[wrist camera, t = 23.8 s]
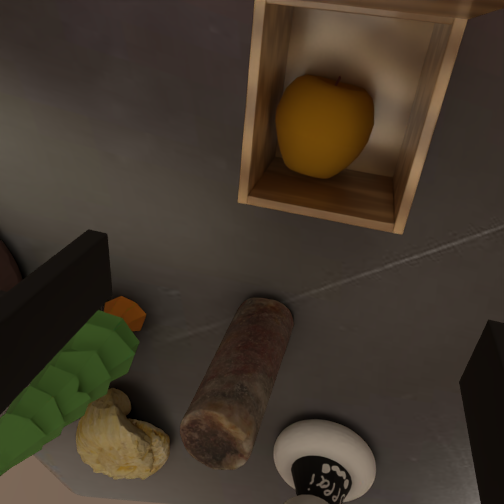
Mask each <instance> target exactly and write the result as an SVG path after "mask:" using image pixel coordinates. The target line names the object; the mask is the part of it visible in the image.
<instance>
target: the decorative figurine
mask: <svg viewBox="0 0 504 504" xmlns="http://www.w3.org/2000/svg"><path fill="white" fill-rule="evenodd" d="M274 461H275V465H276V468H277V470H278V472H279V474H280V475H281V476H282V478H283V479H284V480H285V481H286V482H287V483H288V484H289V485H290V486H291V487H292V488H294V489H295V490H296V494H297V496H295V497H292V498H290V499H289V500H287V501H286V502H285V503H283V504H342V502H346V501H351V500H354V499H356V498H358V497H360V496H362V495H363V494H365V493H366V492H367V491H368V490H369V488H370V487H371V486H372V484H373V482H374V479H375V475H376V463H375V459H374V456H373V454H372V451H371V449H370V448H369V446H368V445H367V443H366V442H365V441H364V440H363V439H362V438H361V437H360V436H359V435H357V434H356V433H355V432H354V431H352V430H350V429H349V428H347V427H345V426H343V425H340V424H338V423H335V422H331V421H328V420H321V419H308V420H302V421H298V422H296V423H293V424H291V425H289V426H288V427H286V428H285V429H284V430H283V431H282V432H281V433H280V435H279V436H278V438H277V440H276V442H275V446H274Z"/></svg>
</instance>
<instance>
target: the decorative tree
mask: <svg viewBox="0 0 504 504" xmlns="http://www.w3.org/2000/svg"><path fill="white" fill-rule="evenodd" d="M145 317H146V313H145V312H144V311H143V310H142V309H141V308H140V307H139V306H138V304H137V303H136V302H133V301H131V300H129V299H127V298H125V297H123V296H120V297H117V298H115V299H113V300H111V301H108V302H106V303H105V307H104V312H102V311H99V310H98V311H97V312H96V313H95V314H94V315H93V316H92V317H91V318H90V319H89V320H88V321H87V322H86V324H85V325H84V326H83V327H82V328H81V329H80V330H79V331H78V332H77V333H76V334H75V335H74V336H73V337H72V338H71V340H70V341H69V342H68V343H67V344H66V345H65V346H64V347H63V348H62V349H61V350H60V351H59V352H58V353H57V355H56V356H55V357H54V358H53V359H52V360H51V361H50V362H49V363H48V364H47V365H46V366H45V368H44V369H43V370H42V371H41V372H40V373H39V374H38V375H37V376H36V377H35V378H34V379H33V380H32V381H31V383H30V385H29V386H28V387H27V388H25V389H24V390H23V391H22V392H21V393H20V394H19V395H18V396H17V397H16V398H15V399H14V400H13V401H12V403H11V404H10V406H9V408H8V410H7V412H6V414H5V415H3V416H2V417H1V418H0V476H1V475H2V474H3V473H5V472H6V471H7V470H9V469H10V468H12V467H13V466H15V465H17V464H18V463H20V462H22V461H23V460H25V459H26V458H28V457H30V456H31V455H33V454H35V453H36V452H38V451H40V450H41V449H42V446H43V445H44V444H46V443H48V442H49V441H51V440H53V439H54V438H56V437H58V436H59V435H60V434H61V431H62V429H63V427H65V426H66V425H68V424H70V423H72V422H74V421H75V420H77V419H79V418H81V417H83V416H84V414H85V412H86V409H87V407H88V404H89V403H91V402H93V401H95V400H97V399H99V398H101V397H102V396H104V395H106V394H107V392H108V388H109V383H110V382H111V381H113V380H115V379H117V378H119V377H121V376H123V375H125V374H127V373H128V371H129V368H130V366H131V363H132V361H133V358H134V355H135V353H136V350H137V348H138V345H139V341H138V339H137V338H136V336H135V335H134V334H133V332H132V331H140V330H141V328H142V325H143V322H144V320H145Z"/></svg>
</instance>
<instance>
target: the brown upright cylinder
mask: <svg viewBox="0 0 504 504" xmlns="http://www.w3.org/2000/svg"><path fill="white" fill-rule="evenodd" d="M293 326H294V322H293V318H292V315H291V312H290V310H289V309H288V308H287V307H286V306H285V305H284V304H282V303H279V302H278V301H276V300H271V299H265V298H257V297H255V298H249V299H248V300H246V301H245V302H243V303H242V304H241V306H240V307H239V308H238V310H237V312H236V314H235V316H234V318H233V320H232V322H231V324H230V326H229V328H228V330H227V332H226V334H225V336H224V338H223V340H222V342H221V344H220V346H219V348H218V350H217V352H216V354H215V356H214V358H213V360H212V362H211V364H210V366H209V368H208V370H207V372H206V375H205V376H204V378H203V380H202V382H201V384H200V386H199V388H198V390H197V392H196V394H195V396H194V398H193V400H192V402H191V404H190V406H189V408H188V410H187V412H186V414H185V416H184V418H183V420H182V422H181V425H180V435H181V438H182V441H183V443H184V446H185V448H186V450H187V451H188V452H189V454H190V455H191V456H192V457H193V458H195V459H197V460H198V461H199V462H201V463H202V464H205V465H206V466H208V467H210V468H212V469H214V470H217V469H221V470H227V469H230V470H233V469H237V468H239V467H240V466H242V465H243V464H245V463H246V461H247V460H248V458H249V457H250V455H251V452H252V449H253V446H254V443H255V440H256V437H257V434H258V431H259V428H260V425H261V422H262V419H263V416H264V413H265V410H266V407H267V404H268V400H269V398H270V395H271V392H272V388H273V385H274V383H275V380H276V377H277V373H278V370H279V368H280V365H281V362H282V359H283V356H284V353H285V350H286V347H287V344H288V341H289V338H290V335H291V332H292V329H293Z"/></svg>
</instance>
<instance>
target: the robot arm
mask: <svg viewBox="0 0 504 504" xmlns="http://www.w3.org/2000/svg"><path fill="white" fill-rule="evenodd" d="M111 296H112V283H111V271H110V260H109V248H108V236H107V234H106V233H102V232H97V231H93V230H87V231H86V232H84V233H83V234H82V235H81V236H79V237H78V238H77V239H75V240H74V241H73V242H71V243H70V244H69V245H68V246H66V247H65V248H64V249H62V250H61V251H60V252H58V253H57V254H56V255H54V256H53V257H52V258H51V259H49V260H48V261H47V262H45V263H44V264H43V265H41V266H40V267H39V268H38V269H36V270H35V271H34V272H32V273H31V274H30V275H28V276H27V277H26V278H24V279H23V280H22V281H21V282H19V283H18V284H17V285H15V286H14V287H13V288H11V289H10V290H9V291H8V292H5V291H1V290H0V414H1V413H2V412H3V411H4V410H5V409H6V408H7V407H8V406H9V405H10V404H11V403H12V401H13V400H14V399H15V398H16V397H17V396H18V395H19V394H20V393H21V392H22V391H23V390H24V389H25V388H26V387H27V385H28V384H29V383H30V382H31V381H32V380H33V379H34V378H35V377H36V376H37V375H38V374H39V373H40V372H41V371H42V369H43V368H44V367H45V366H46V365H47V364H48V363H49V362H50V361H51V360H52V359H53V358H54V357H55V356H56V355H57V353H58V352H59V351H60V350H61V349H62V348H63V347H64V346H65V345H66V344H67V343H68V342H69V341H70V340H71V338H72V337H73V336H74V335H75V334H76V333H77V332H78V331H79V330H80V329H81V328H82V327H83V326H84V325H85V324H86V322H87V321H88V320H89V319H90V318H91V317H92V316H93V315H94V314H95V313H96V312H97V311H98V310H99V309H100V308H101V306H102V305H103V304H104V303H105V302H106V301H107V300H108V299H109V298H110V297H111ZM459 384H460V389H461V395H462V400H463V406H464V412H465V417H466V423H467V428H468V434H469V440H470V445H471V451H472V456H473V462H474V468H475V473H476V479H477V484H478V490H479V496H480V501H481V504H504V323H501V322H497V321H492V320H488V322H487V324H486V326H485V328H484V330H483V332H482V335H481V337H480V339H479V341H478V343H477V345H476V347H475V349H474V352H473V354H472V356H471V358H470V360H469V362H468V364H467V366H466V369H465V371H464V373H463V375H462V377H461V379H460V381H459Z"/></svg>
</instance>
